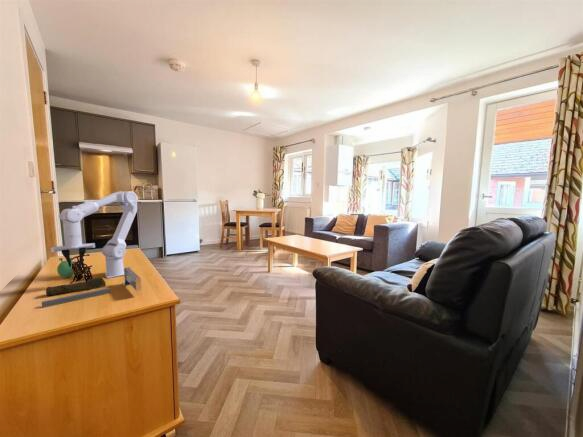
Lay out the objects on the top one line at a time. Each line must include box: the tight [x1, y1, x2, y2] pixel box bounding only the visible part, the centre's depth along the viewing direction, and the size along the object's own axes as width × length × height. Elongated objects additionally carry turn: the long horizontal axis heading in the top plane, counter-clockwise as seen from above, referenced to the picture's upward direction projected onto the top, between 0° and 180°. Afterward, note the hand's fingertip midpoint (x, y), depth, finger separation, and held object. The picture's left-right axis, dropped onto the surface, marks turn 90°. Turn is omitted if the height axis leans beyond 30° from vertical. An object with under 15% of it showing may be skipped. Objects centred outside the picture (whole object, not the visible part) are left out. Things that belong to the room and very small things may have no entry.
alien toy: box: [56, 257, 76, 279], centre depth 120 cm, size 7×8×10 cm
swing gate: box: [123, 266, 142, 292], centre depth 105 cm, size 21×2×7 cm, turn 45°
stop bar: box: [41, 287, 111, 308], centre depth 95 cm, size 2×20×2 cm, turn 133°
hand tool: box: [45, 277, 106, 297], centre depth 103 cm, size 19×4×5 cm, turn 121°
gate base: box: [122, 282, 132, 287], centre depth 112 cm, size 4×4×1 cm
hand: (75, 265), depth 109 cm, fingers open, 3 cm apart
